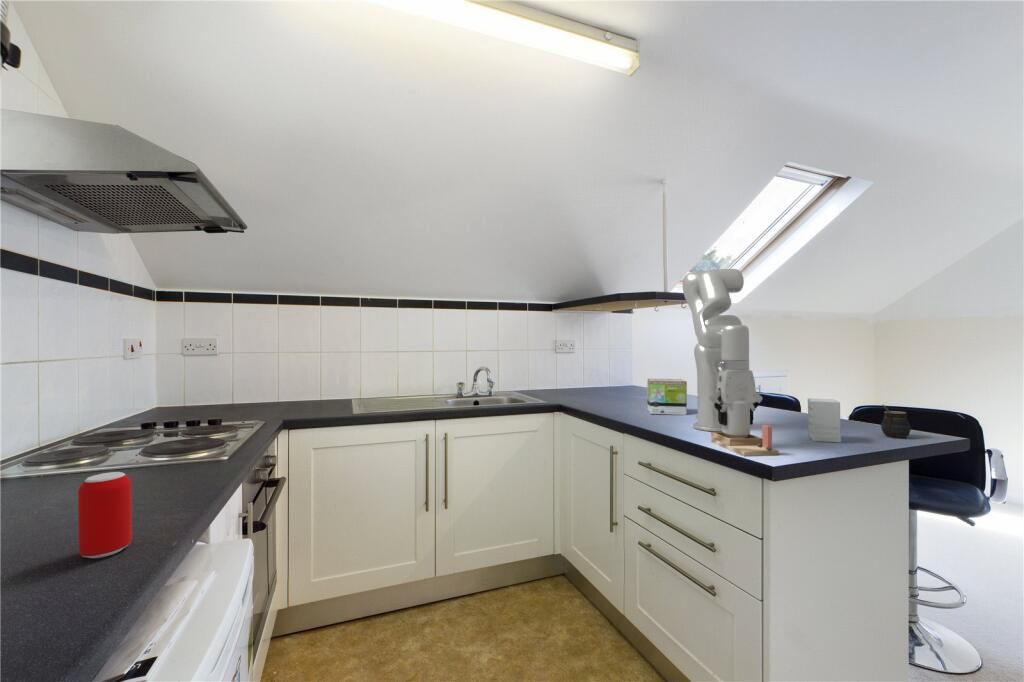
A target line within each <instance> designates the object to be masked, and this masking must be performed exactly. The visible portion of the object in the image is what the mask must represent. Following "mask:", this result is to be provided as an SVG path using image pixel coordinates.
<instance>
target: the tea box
mask: <svg viewBox="0 0 1024 682" xmlns="http://www.w3.org/2000/svg"><path fill="white" fill-rule="evenodd" d="M646 387H647V388H646V390H647V392H646V393H647V394H646V395H647V396H646V399H647V400H646V401H647V403H646V405H647V406H646V407H647V410H646V411H647V412H648V413H649V414H650V415H674V416H675V415H676V416H677V415H679V416H687V412H688V411H687V409H688V406H687V405H688V399H687V398H688V397H687V396H688V394H687V391H688V383H687V380H684V379H682V378H681V379H680V378H679V379H678V378H647V386H646Z"/></svg>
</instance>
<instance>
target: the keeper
mask: <svg viewBox="0 0 1024 682" xmlns="http://www.w3.org/2000/svg"><path fill="white" fill-rule="evenodd" d="M761 429H762V430H761V433H762V435H761V436H762V437H761V438H762V446H763V447H766V448H767V447H771V448H773V426H772V425H768V424H762V425H761Z"/></svg>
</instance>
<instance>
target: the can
mask: <svg viewBox="0 0 1024 682" xmlns="http://www.w3.org/2000/svg"><path fill="white" fill-rule="evenodd" d="M737 399H738V400H736V401H735V402H733V404H727V408H726V410H725V412H726V413H727V425H726V426H724V425H722V431H721V432H723V433H724V434H725V435H726V436H730V437H738V438H743V437H747V436H748V435H749V434H751V425H750V404H749V402H748V401H746V400H745V398H737Z"/></svg>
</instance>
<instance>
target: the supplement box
mask: <svg viewBox="0 0 1024 682" xmlns="http://www.w3.org/2000/svg"><path fill="white" fill-rule="evenodd" d="M807 424H808V425H807V430H808V431H807V434H808V435H807V436H808V437H809V439H811V440H812V442H825V443H826V442H827V443H840V444H841V442H842V437H841V431H842V430H841V402H840V401H839V400H837V399H834V398H814V397H813V398H811V397H807Z"/></svg>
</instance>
